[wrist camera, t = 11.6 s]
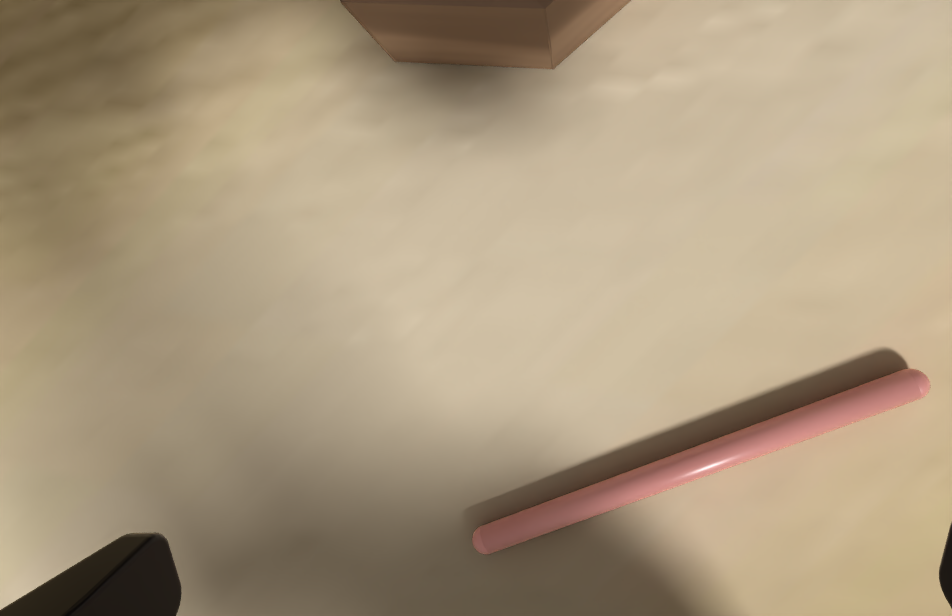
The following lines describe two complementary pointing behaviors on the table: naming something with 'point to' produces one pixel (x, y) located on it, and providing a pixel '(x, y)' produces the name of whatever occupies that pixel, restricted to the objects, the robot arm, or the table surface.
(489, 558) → the table surface
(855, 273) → the table surface
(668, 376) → the table surface
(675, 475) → the pink rod
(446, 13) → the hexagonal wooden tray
